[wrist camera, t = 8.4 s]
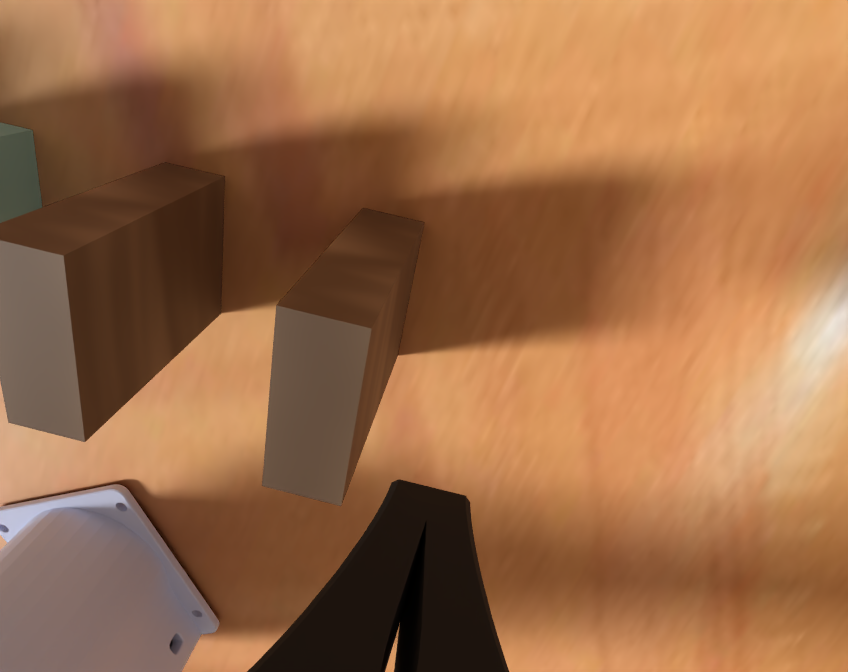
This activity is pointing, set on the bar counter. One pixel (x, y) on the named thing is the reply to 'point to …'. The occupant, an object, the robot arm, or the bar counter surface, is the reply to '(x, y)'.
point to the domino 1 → (18, 172)
